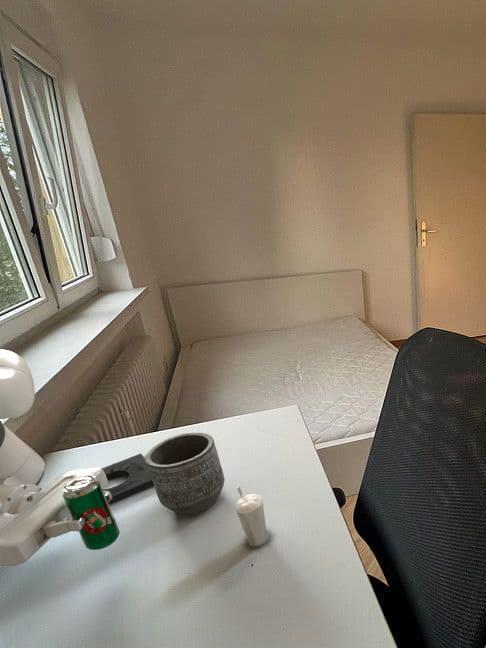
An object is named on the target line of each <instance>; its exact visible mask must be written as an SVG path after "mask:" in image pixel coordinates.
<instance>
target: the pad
mask: <svg viewBox="0 0 486 648" xmlns="http://www.w3.org/2000/svg"><path fill="white" fill-rule="evenodd" d="M101 469H102V470H103V471H104V473H105V475H106V477H107V480H108V481H109V480H112V479H115V478H118V477H127V478H126V479H125V480H124V481H122V482H121V483H119V484H117V485H114V486H112V487H108V488H104V489H103V491H109V492H110V493H111V496H112V499H111V500H110V501H109V502H108V504H109V505H111V504H115V503H116V502H118V501H121V500H123V499H126V498H128V497H131V496H133V495H136V494H137V493H140V492H143V491H145V490H147V489H149V488H151V487H155V486H154V484H153V481H152V479H151V476H150V473H149V471H148V467H147V464H146V461H145V457H144V455H143V454H142V453H138V454H136V455H133V456H131V457H128V458H125V459H122V460H120V461H118V462H115V463H112V464H110V465H107V466H105V467H102V468H101Z"/></svg>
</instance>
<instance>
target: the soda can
mask: <svg viewBox="0 0 486 648" xmlns="http://www.w3.org/2000/svg"><path fill="white" fill-rule="evenodd" d="M63 491H64V493H63V498H64V500H65V502H66V505H67V507H68V509H69V511H70V513H71V516H72V517H73V516H77V517H78V516H82V517H84V519H85V521H86V525H85V526H84V527H83V528H82V529H81V530H80V531H78V533H79V535H80V539H81V540H82V542H83V544H84V547H85V548H86V549H88V550H91V551H99V550H103V549H106V548H107V547H110V546H111V545H113V544H114V543H115V542H116V541H117V539H118V538H119V536H120V532H121V531H120V529H119V526H118V524H117V521H116V518H115V516H114V514H113V511H112V509H111V507H110V504H108V501H107V499H106V496H105V494H104V491H103V489H102V486H101V484H100V482H99V481H98V480H96V479H95V477H93V476H83V477H79V478H76V479H74V480H72V481H70V482H69V483H67V484H66V485H65V486H64V488H63Z"/></svg>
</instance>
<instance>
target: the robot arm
mask: <svg viewBox="0 0 486 648" xmlns="http://www.w3.org/2000/svg"><path fill="white" fill-rule="evenodd" d="M35 399H36V389H35V383H34V378H33V375H32V372H31V369H30V368H29V366H28V364H27V362H26V361H25V360H24V358H22V356H20V355H19V354H17V353H16V352H13V351H11V350H6V349H0V419H6V418H15V419H18V418H20V417H22V416H23V415H24V414H26V413H28V412H29V411H30V409H31V408H32V407H33V405H34V402H35ZM17 417H18V418H17ZM45 470H46V462H45V460H44V459H43V458H42V456H41V455H39V454H38V453H37V452H36V451H35V450H34V449H33V448H32V447H30V445H28V444H27V443H25V442H24V441H23V439H21V438H20V437H18V435H16V434H15V433H14V432H13V431H12V430H11V429H10V428H9V427H7V426H6V425H5V424H4V423H3V422H1V421H0V567H16V566H18V565H21V564H24V563H25V562H27V561H28V560H29V559H30V558H32V556H34V555H35V554H36V553H37V552H38V551H40V549H41V548H42V547H43V546H44V545H45V544H47V543H48V542H49V541H50V540H51V539H52V538H57V537H60V536H62V535H66V534H68V533H70V532H79V531H80V530H81V529H82V528H83V527H84V526H85V525H86V521H85V519H84V517H82V516H78V517H77V516H73V517H72V516H71V513H70V511H69V509H68V507H67V505H66V502H65V500H64V498H63V493H64V491H63V488H64V486H65V485H66V484H67V483H69V482H70V481H72V480H74V479H76V478H79V477H83V476H93V477H95V479H96V480H98V481H99V482H100V484H101V486H102V489H106V487H107V486H108V485H109V480H107V477H106V475H105V473H104V471H103V470H102V468H101V467H89V468H79V469H73V470H68V471H65V472H63V473H61V474H60V475H58V476H57V477H55V478H54V479H53V480H51V481H50V482H49V483H48V484H47V485H45V486H44V487H43V488H42V487H41V486H39V485H40V483H41V481H42V479H43V477H44V475H45V472H46V471H45ZM104 494H105V496H106V499H107V501H108V502H109V501H110V500H111V499H112V496H111V493H110V492H109V491H104Z"/></svg>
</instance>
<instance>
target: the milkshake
mask: <svg viewBox="0 0 486 648" xmlns="http://www.w3.org/2000/svg"><path fill="white" fill-rule="evenodd" d="M236 489H237V492H238V494H239V496H240V498H239V499H238V500H237V501H236V502H235V506H234V510H235V512H236V515H237V517H238V519H239V521H240V524H241V527H242V530H243V532H244V534H245V537H246V540H247V543H248V545H250V546H251V547H256V548H257V547H259V546H262V545H264V544H265V543H266V542H267V540H268V531H267V524H266V517H265V508H264V499H263V498H262V497H261V495H259V494H258V493H249V494H247V495H244V494H243V491H242V489H241V487H240V486H238V487H237V488H236Z"/></svg>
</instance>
